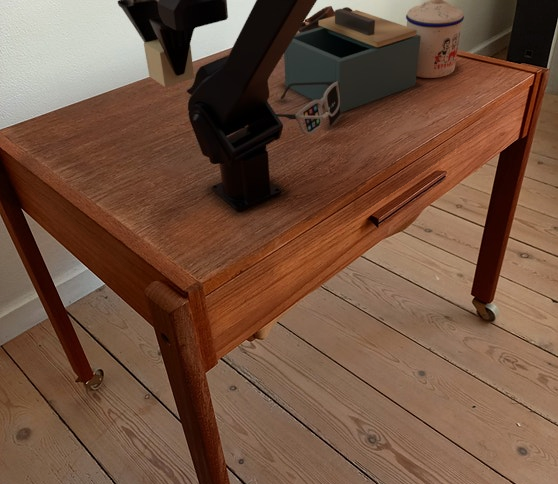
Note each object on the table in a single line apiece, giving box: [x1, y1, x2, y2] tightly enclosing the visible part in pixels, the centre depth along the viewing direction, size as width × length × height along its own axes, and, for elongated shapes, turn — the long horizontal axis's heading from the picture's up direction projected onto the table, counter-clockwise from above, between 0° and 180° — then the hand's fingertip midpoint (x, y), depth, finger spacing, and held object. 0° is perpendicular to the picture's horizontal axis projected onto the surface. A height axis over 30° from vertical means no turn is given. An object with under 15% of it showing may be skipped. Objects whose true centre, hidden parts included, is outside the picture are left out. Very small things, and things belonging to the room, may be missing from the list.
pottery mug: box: [298, 5, 354, 33], centre depth 108 cm, size 12×10×8 cm
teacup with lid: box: [405, 0, 465, 79], centre depth 97 cm, size 12×9×12 cm
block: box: [143, 39, 195, 88], centre depth 69 cm, size 4×4×4 cm
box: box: [283, 27, 421, 114], centre depth 93 cm, size 14×16×8 cm
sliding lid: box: [319, 8, 417, 47], centre depth 91 cm, size 14×8×3 cm, turn 35°
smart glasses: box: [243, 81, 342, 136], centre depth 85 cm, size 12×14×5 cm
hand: (171, 69), depth 70 cm, fingers closed on block, 4 cm apart
